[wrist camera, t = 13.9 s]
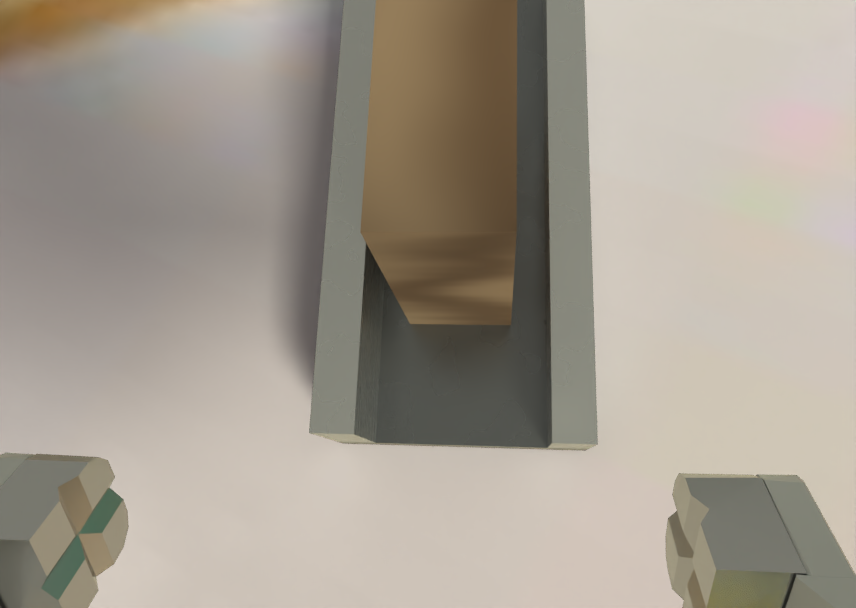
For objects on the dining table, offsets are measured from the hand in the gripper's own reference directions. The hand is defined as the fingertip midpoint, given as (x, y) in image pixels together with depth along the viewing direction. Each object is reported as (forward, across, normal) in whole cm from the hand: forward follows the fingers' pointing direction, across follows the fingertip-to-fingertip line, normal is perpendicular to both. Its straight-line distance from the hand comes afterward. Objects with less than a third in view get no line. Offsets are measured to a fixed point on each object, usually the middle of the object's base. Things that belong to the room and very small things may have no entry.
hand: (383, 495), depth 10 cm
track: (+20, 0, +4) cm, 21 cm away
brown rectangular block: (+19, 0, +3) cm, 20 cm away
